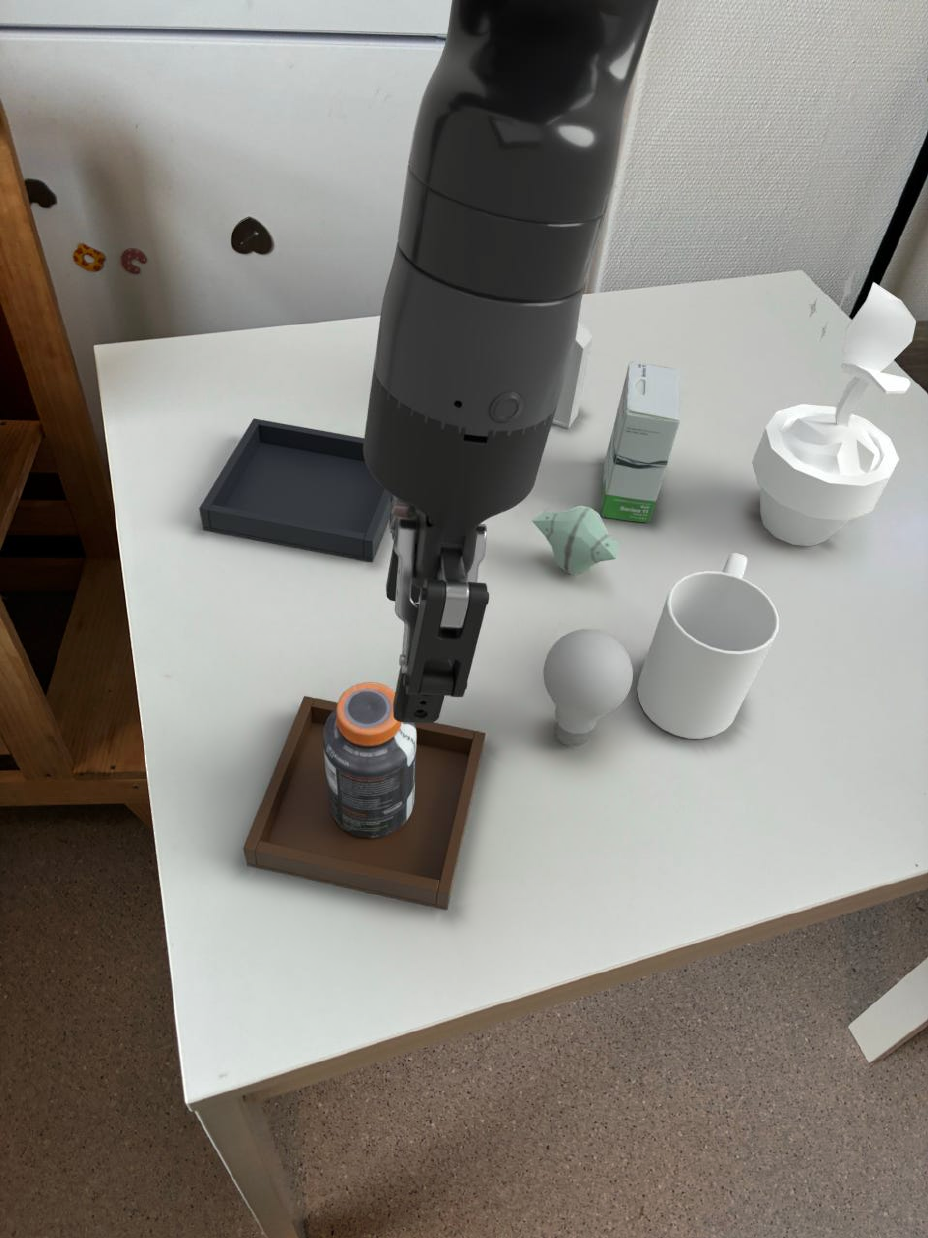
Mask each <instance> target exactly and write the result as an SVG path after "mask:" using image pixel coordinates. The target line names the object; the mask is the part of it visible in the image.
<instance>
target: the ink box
mask: <svg viewBox="0 0 928 1238" xmlns="http://www.w3.org/2000/svg"><path fill="white" fill-rule="evenodd" d="M623 382H624V383H623V387H622V391H621V394H620V398H619V402H618V406H617V411H616V414H615V417H614V422H613V425H612V426H613V427H612V429H611V430H612V431H611V434H610V438H609V442H608V446H607V449H606V455H605V459H604V464H603V477H602V479H603V480H602V493H601V494H602V495H601V510H600V514H601V516H602V517H603V518H610V519H615V520H623V521H630V522H636V523H637V522H638V523H645V524H647V523H648V524H649V523H651V520H652V517H653V514H654V511H655V506H656V503H657V501H658V497H659V493H660V490H661V487H662V483H663V481H664V476H665V473H666V471H667V470H666V469H667V466H668V463H669V460H670V456H671V453H672V449H673V446H674V442H675V439H676V435H677V432H678V430H679V426H680V423H681V371H680V370H679V369H677V368H672V367H667V366H663V365H662V366H661V365H657V364H652V363H651V364H650V363H643V362H639V361H633V360H632V361H630V362H629V363H628V366H627V369H626V375H625V378H624V381H623Z"/></svg>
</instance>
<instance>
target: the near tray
mask: <svg viewBox="0 0 928 1238" xmlns="http://www.w3.org/2000/svg"><path fill="white" fill-rule="evenodd" d="M301 700H302V701H301V703H300V705H299V708H298V710H297V713H296V714H295V718H294V720H293V723H292V725H291V728H290V730H289V732H288V736H287V737H286V740H285V742H284V745H283V747H282V750H281V752H280V755H279V758H278V760H277V763H276V765H275V767H274V770H273V773H272V775H271V777H270V779H269V783H268V785H267V788H266V790H265V793H264V795H263V796H262V797H263V798H262V800H261V803H260V804H259V807H258V810H257V812H256V815H255V817H254V821H253V822H252V825H251V827H250V830H249V833H248V835H247V837H246V840H245V842H244V845H243V847H242V850H243V854H244V858H245V863H246V866H247V867H250V868H251V867H252V868H256V869H261V870H265V871H270V872H274V873H278V874H284V875H289V876H291V877H297V878H300V879H301V878H302V879H305V880H311V881H315V882H320V883H323V884H327V885H332V886H337V887H342V888H346V889H350V890H356V891H358V892H359V891H360V892H365V893H369V894H373V895H377V896H382V897H386V898H391V899H396V900H401V901H405V902H409V903H413V904H418V905H423V906H427V907H433V908H436V909H441V910H446V911H448V910H449V906H450V901H451V897H452V893H453V887H454V883H455V879H456V875H457V869H458V866H459V862H460V861H459V860H460V856H461V852H462V847H463V842H464V838H465V833H466V829H467V825H468V821H469V815H470V811H471V807H472V803H473V798H474V794H475V789H476V784H477V779H478V776H479V772H480V767H481V766H480V765H481V763H482V762H481V761H482V757H483V752H484V746H485V739H486V732H483V731H478V730H473V729H468V728H463V727H458V726H453V725H449V724H443V723H439V722H436V721H435V722H433V723H414V724H415V726H416V767H415V791H414V805H413V809H412V812H411V814H410V816H409V818H408V820H407V821H406V822H405V824H404V825H402V826H401V827H400V828H399V829H398V830H396V831H394V832H392V833H391V834H388V835H386V836H382V837H379V838H363V837H358V836H355V835H352V834H350V833H349V832H347V831H345V830H344V829H342V828H341V827H340V826H339V825H338V824H337V823H336V821H335V820H334V818H333V816H332V814H331V812H330V808H329V800H328V788H327V778H326V768H325V757H324V746H323V730H324V726H325V723H326V721H327V719H328V717H329V715H330V714H331V713H332V712H333V710H334V709H335V708H337V703H338V701H332V700H328V699H322V698H317V697H315V698H314V697H312V696H307V695H304V696H303V698H302V699H301Z"/></svg>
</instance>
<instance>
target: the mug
mask: <svg viewBox="0 0 928 1238" xmlns="http://www.w3.org/2000/svg"><path fill="white" fill-rule="evenodd" d="M748 560H749V559H748V557H746V555H743V554H740V553H737V552H730V553H729V555H728V557H727V559H726V561H725V563H724V567H723V568H722V571H714V570H713V571H712V570H704V571H696V572H692V573H690V574H687V575H685V576H682V577H681V578H680V579H678V580H677V581H676V582H674V584H672V586H671V587H670V590H669V591H668V593H667V597H666V598H665V602H664V605H663V608H662V612H661V614H660V616H659V619H658V622H657V626H656V629H655V632H654V634H653V637H652V640H651V643H650V645H649V647H648V648H649V649H648V651H647V654H646V656H645V661H644V663H643V666H642V669H641V672H640V674H639V677H638V681H637V688H636V692H637V698H638V702H639V704H640V707H641V709H642V710H643V712H644V714H645V715H646V716H647V717H648V718H649V719H650V721H651V722H652V723H654V724H655V725H656V726H658V727H659V728H660V729H661V730H663V731H665V732H668V733H669V734H672V735H674V736H676V737H681V738H684V739H691V740H692V739H693V740H702V739H707V738H713V737H715V736H717V735H719V734H721V733H724V732H725V731H726V730H727V729H728V728H729V727H730V726H731V725H732V724H733V722H734V720H735V718H736V716H737V715H738V712H739V710H740V708H741V707H742V704H743V702H744V700H745V698H746V696H747V694H748V692H749V690H750V688H751V686H752V684H753V682H754V680H755V678H756V676H757V674H758V672H759V671H760V668H761V666H762V664H763V663H764V660H765V658H766V656H767V654H768V653H769V650H770V648H771V646H772V644H773V642H774V640H775V638H776V636H777V634H778V632H779V629H780V617H779V615H778V611H777V607H776V605H774V603H773V602H772V600H771V598H770V597H769V596H768V595H767V594H766V593H765V592H764V591H763V590H762V589H761V588H759V587H758V586H756V585H755V584H754V583H752V582H750V581H749V580H746V579H744V578H743V577H744V574H745V572H746V568H747V564H748V562H749V561H748Z"/></svg>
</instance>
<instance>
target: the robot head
mask: <svg viewBox="0 0 928 1238" xmlns="http://www.w3.org/2000/svg"><path fill="white" fill-rule="evenodd" d="M531 522H532V523H533V524H534V525H535V527H537V529H538V530H539V531H540V532H541V534H542V535H543V536H544V537H545V539H546V540H547V542H548V544H549V546H550V547H551V550H552V554H553V555H552V556H553V559H554V560H555V562H556V565H558V567H559V568H561V569H562V570H563V571H565V572H566V573H568V574H572V575H577V576H578V575H580V574H583V573H586V572H588V571H590V570H591V569H592V567H594V566H595V565H597V564H598V563H601V562H607V561H611V560H616V559H617V555H618V551H619V545H620V543H619V542H618V541H616V540H615V539H614V538H612V537H611V536H610V533H609V531H608V529H607V527H606V525H605V524H604V520H603V519H602V517H601V515H600V513H599V512H598V511H596V510H594V509H593V508H592V507H590V506H585V505H578V506H574V507H573V508H570V509H569V508H568V509H566V510H564V511H559V512H553V511H549V510H543V511H542V512H541V513H539V514H538V515H537V516H536V517H534V518H533V519H532V520H531Z"/></svg>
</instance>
